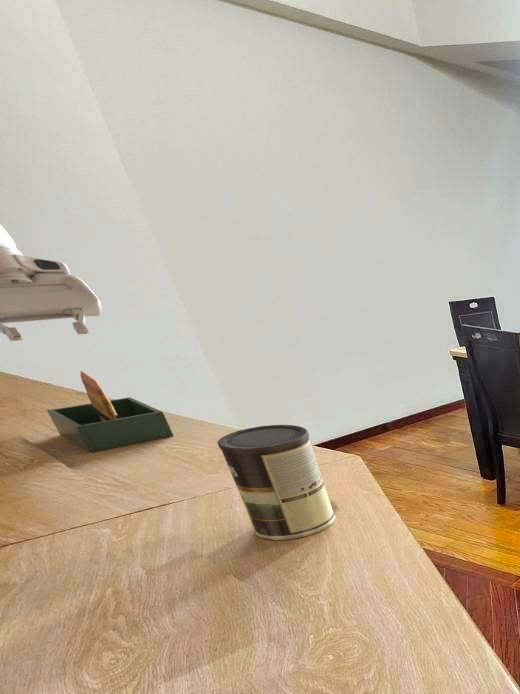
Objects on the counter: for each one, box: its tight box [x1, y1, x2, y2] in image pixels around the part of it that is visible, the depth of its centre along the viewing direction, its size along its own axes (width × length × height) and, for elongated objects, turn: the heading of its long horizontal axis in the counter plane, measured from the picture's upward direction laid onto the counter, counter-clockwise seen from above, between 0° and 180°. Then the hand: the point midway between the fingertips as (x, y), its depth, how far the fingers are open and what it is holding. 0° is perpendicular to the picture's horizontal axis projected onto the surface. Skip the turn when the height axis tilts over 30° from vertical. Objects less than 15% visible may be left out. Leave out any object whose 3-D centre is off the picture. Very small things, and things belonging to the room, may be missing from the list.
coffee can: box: [217, 424, 337, 541], centre depth 86 cm, size 10×10×14 cm
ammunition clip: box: [80, 370, 120, 422], centre depth 116 cm, size 11×2×12 cm, turn 54°
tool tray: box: [46, 396, 174, 453], centre depth 117 cm, size 13×17×5 cm
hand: (50, 335), depth 115 cm, fingers open, 8 cm apart
